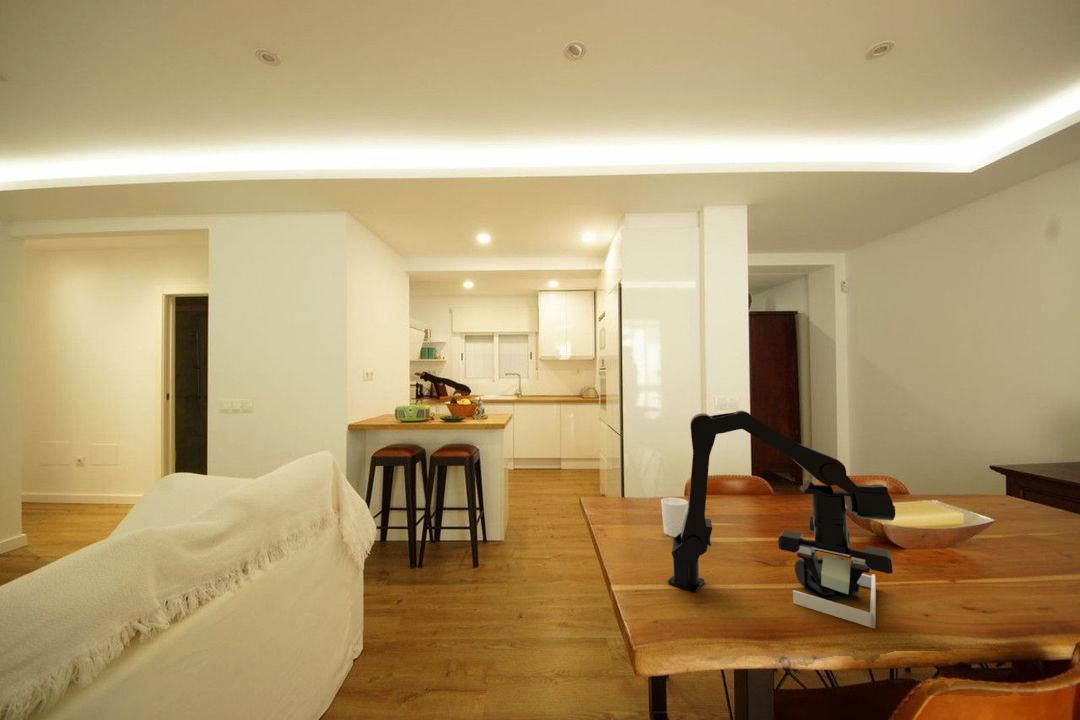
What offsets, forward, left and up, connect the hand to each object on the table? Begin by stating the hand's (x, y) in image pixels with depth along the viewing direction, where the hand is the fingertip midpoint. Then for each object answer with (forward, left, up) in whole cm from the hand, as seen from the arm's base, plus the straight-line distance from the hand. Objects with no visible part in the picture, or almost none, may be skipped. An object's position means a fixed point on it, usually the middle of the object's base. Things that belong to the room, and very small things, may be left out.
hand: (835, 592), depth 80 cm
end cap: (+7, +2, -4) cm, 9 cm away
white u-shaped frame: (+6, 0, -3) cm, 7 cm away
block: (+1, 0, +2) cm, 2 cm away
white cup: (+18, +41, -4) cm, 45 cm away
